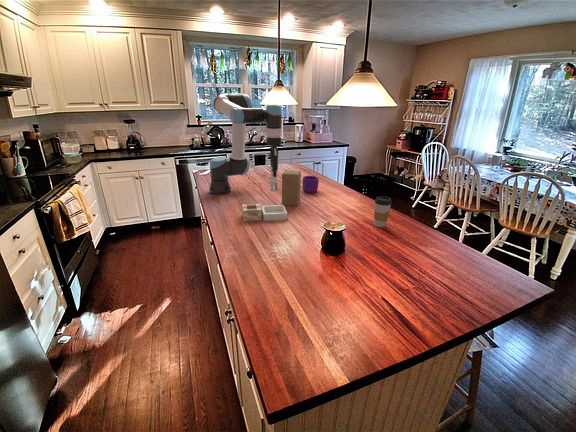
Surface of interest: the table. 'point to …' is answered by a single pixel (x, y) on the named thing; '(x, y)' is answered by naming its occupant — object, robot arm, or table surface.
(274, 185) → the glass vial with cap
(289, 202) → the wooden block
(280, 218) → the tray
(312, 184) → the mug
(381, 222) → the coffee cup
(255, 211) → the hollow square frame
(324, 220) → the table surface
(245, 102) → the robot arm
